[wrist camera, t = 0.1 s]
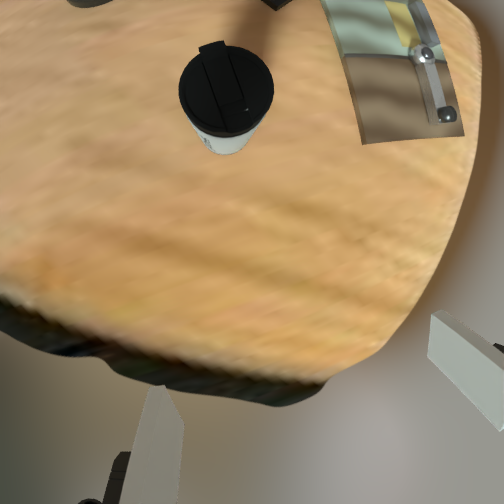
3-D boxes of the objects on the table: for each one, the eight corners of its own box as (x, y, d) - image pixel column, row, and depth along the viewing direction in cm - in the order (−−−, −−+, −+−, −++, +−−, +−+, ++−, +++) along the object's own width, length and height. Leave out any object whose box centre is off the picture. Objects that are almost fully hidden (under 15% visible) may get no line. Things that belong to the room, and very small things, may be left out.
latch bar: (405, 47, 32) (421, 38, 28) (422, 49, 32) (438, 41, 28) (426, 124, 36) (444, 121, 31) (443, 124, 36) (461, 121, 31)
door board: (316, -10, 31) (323, -23, 27) (417, 3, 31) (429, -6, 27) (362, 144, 37) (375, 142, 34) (459, 136, 38) (474, 135, 34)
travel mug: (240, 99, 35) (256, 29, 15) (256, 146, 36) (290, 115, 17) (193, 115, 35) (163, 56, 15) (209, 161, 36) (193, 146, 17)
